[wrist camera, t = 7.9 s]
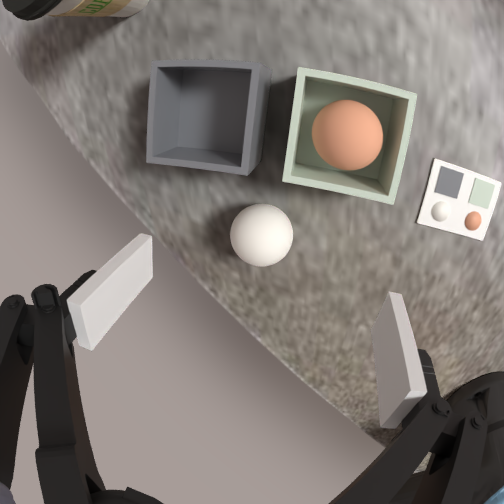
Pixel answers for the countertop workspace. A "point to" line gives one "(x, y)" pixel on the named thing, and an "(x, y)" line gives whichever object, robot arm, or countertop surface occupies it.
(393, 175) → the sage open box
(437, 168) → the card
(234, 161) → the grey open cubby box
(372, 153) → the ball terracotta
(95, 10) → the coffee cup
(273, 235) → the ball white
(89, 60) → the countertop surface
